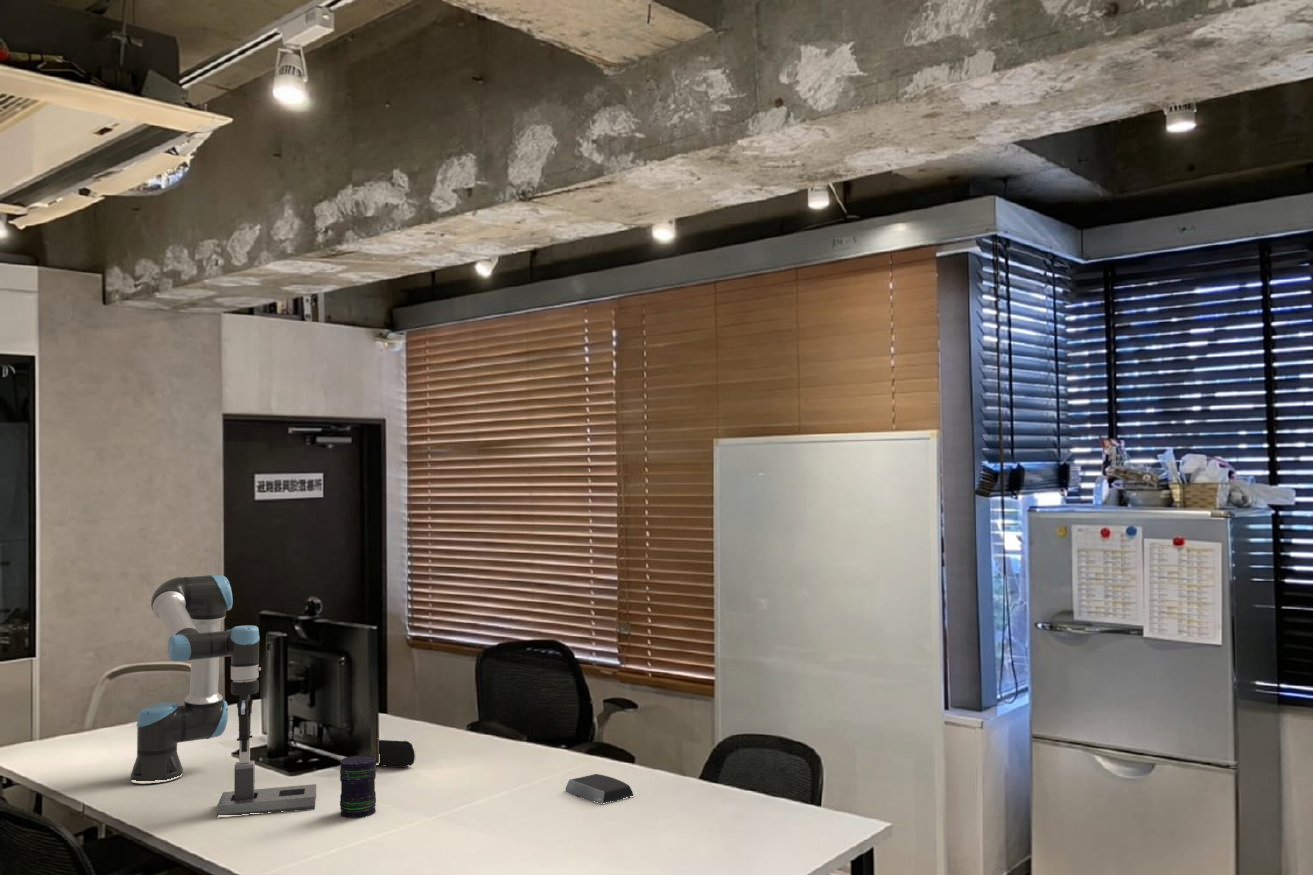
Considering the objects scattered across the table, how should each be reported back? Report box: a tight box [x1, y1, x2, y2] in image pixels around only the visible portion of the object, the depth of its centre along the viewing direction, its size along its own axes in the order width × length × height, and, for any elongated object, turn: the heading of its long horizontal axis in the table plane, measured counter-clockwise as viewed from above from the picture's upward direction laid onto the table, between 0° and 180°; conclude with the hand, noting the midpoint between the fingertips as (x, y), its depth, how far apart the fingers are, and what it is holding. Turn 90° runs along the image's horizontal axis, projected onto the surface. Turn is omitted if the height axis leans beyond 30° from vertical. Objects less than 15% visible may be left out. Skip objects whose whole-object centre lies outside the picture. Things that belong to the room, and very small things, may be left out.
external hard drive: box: [565, 773, 634, 805], centre depth 311 cm, size 13×19×4 cm
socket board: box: [216, 783, 317, 817], centre depth 303 cm, size 14×26×4 cm, turn 106°
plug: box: [233, 760, 256, 801], centre depth 301 cm, size 4×5×12 cm
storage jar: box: [339, 754, 377, 819], centre depth 296 cm, size 10×10×15 cm
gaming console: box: [378, 738, 417, 767], centre depth 346 cm, size 19×9×2 cm
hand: (244, 762), depth 301 cm, fingers closed
